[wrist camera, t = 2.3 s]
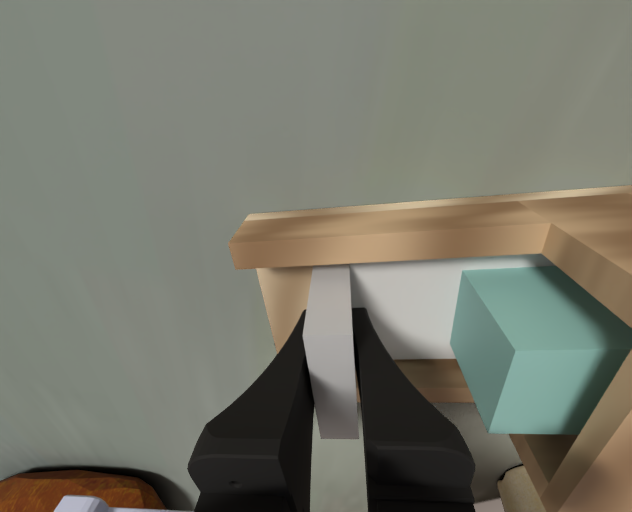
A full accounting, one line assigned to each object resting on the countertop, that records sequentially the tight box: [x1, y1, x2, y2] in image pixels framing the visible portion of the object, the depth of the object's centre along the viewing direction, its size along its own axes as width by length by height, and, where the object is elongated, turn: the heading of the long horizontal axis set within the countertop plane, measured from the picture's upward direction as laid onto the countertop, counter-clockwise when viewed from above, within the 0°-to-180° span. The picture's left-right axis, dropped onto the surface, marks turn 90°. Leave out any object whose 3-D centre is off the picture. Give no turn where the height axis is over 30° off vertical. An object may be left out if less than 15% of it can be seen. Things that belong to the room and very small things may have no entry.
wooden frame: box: [228, 185, 632, 512], centre depth 12 cm, size 18×10×8 cm, turn 96°
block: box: [450, 266, 632, 435], centre depth 12 cm, size 4×4×4 cm
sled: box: [303, 253, 556, 439], centre depth 12 cm, size 12×7×5 cm, turn 96°
